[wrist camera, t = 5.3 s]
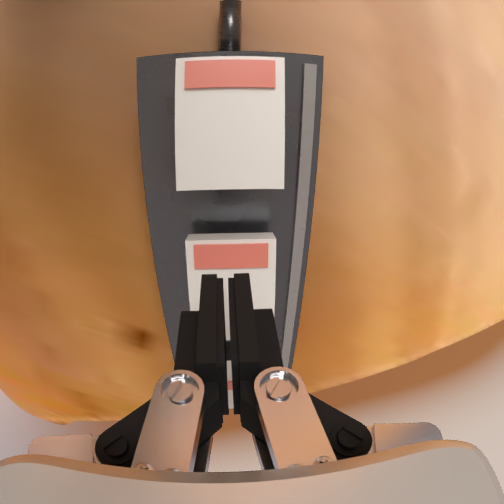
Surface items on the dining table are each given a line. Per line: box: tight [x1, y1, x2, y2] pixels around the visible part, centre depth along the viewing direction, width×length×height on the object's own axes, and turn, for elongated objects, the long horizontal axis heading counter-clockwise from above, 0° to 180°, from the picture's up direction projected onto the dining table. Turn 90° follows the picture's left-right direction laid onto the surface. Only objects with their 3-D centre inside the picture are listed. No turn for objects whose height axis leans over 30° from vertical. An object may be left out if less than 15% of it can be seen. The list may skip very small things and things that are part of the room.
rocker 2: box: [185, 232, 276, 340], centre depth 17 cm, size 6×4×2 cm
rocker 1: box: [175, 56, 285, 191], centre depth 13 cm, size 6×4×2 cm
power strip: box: [137, 0, 323, 369], centre depth 20 cm, size 28×9×4 cm, turn 179°
